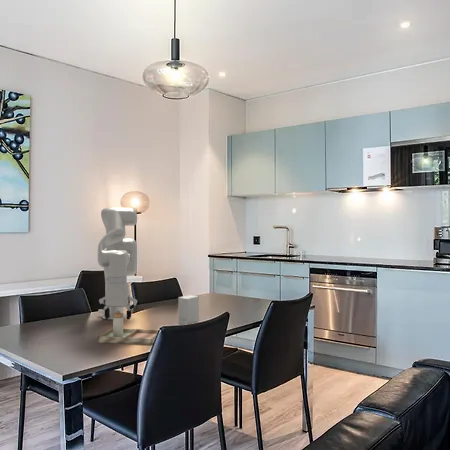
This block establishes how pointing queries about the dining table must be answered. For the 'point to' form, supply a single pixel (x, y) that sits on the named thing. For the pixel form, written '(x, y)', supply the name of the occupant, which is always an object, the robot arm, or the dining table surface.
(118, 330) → the cylinder
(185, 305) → the skincare box
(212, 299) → the dining table surface
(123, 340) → the sorting tray
